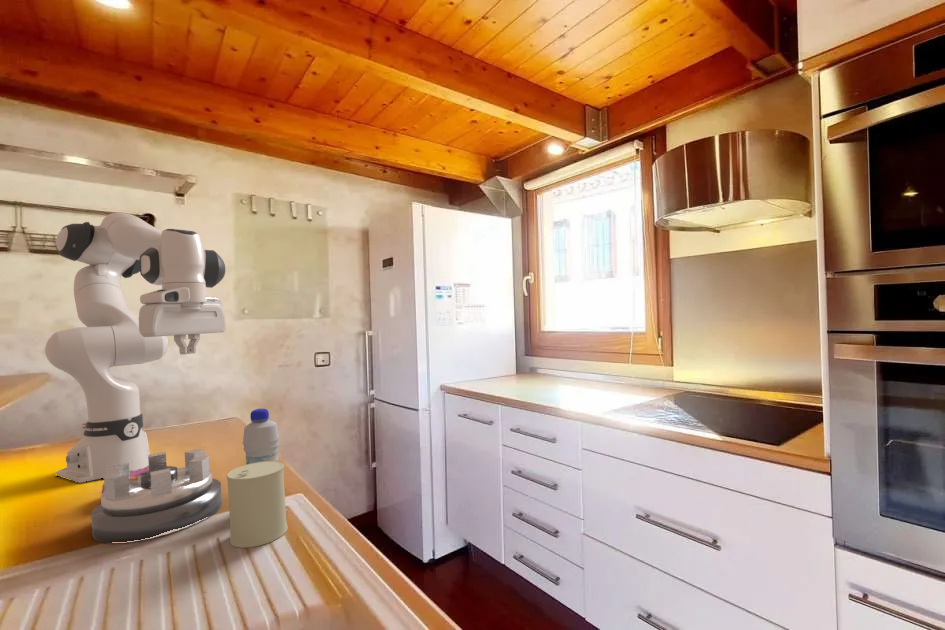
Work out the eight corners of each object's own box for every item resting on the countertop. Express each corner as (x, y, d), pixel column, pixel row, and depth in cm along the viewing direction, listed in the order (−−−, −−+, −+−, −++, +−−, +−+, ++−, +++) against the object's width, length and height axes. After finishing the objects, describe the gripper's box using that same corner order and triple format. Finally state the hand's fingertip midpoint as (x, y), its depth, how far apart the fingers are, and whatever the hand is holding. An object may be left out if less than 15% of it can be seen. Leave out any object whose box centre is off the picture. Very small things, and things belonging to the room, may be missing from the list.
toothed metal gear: (140, 521, 77) (138, 483, 77) (79, 508, 84) (77, 474, 84) (232, 482, 94) (230, 451, 94) (174, 475, 101) (173, 446, 101)
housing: (63, 537, 82) (62, 515, 82) (171, 492, 102) (171, 474, 102) (147, 549, 76) (146, 525, 76) (245, 499, 96) (244, 479, 96)
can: (217, 544, 76) (213, 473, 76) (260, 519, 85) (257, 456, 85) (258, 551, 73) (254, 478, 73) (298, 525, 82) (295, 460, 82)
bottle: (268, 514, 87) (263, 412, 87) (238, 513, 88) (233, 412, 88) (289, 500, 94) (284, 405, 94) (261, 499, 95) (256, 405, 95)
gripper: (211, 298, 118) (214, 350, 118) (132, 296, 98) (135, 358, 98) (230, 296, 116) (233, 349, 116) (153, 294, 96) (156, 358, 96)
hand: (187, 354), depth 107 cm, fingers closed
